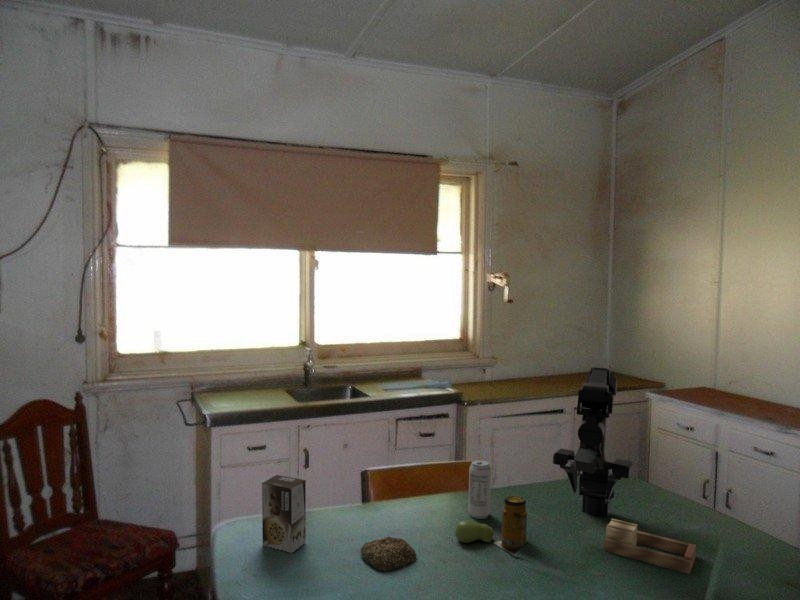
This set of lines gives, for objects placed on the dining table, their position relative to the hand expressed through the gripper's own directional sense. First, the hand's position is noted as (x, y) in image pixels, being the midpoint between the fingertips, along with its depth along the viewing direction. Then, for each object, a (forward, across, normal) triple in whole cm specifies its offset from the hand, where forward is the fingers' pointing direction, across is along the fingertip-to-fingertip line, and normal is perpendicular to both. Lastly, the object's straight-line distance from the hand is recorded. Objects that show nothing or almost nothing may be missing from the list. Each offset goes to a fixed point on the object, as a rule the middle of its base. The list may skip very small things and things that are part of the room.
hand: (591, 495), depth 150 cm
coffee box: (+12, -63, -45) cm, 78 cm away
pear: (+12, -25, -16) cm, 32 cm away
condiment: (+12, -15, -13) cm, 23 cm away
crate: (+11, +8, 0) cm, 13 cm away
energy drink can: (+12, -30, -1) cm, 33 cm away
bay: (+12, +14, 0) cm, 19 cm away
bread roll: (+13, -38, -35) cm, 53 cm away
